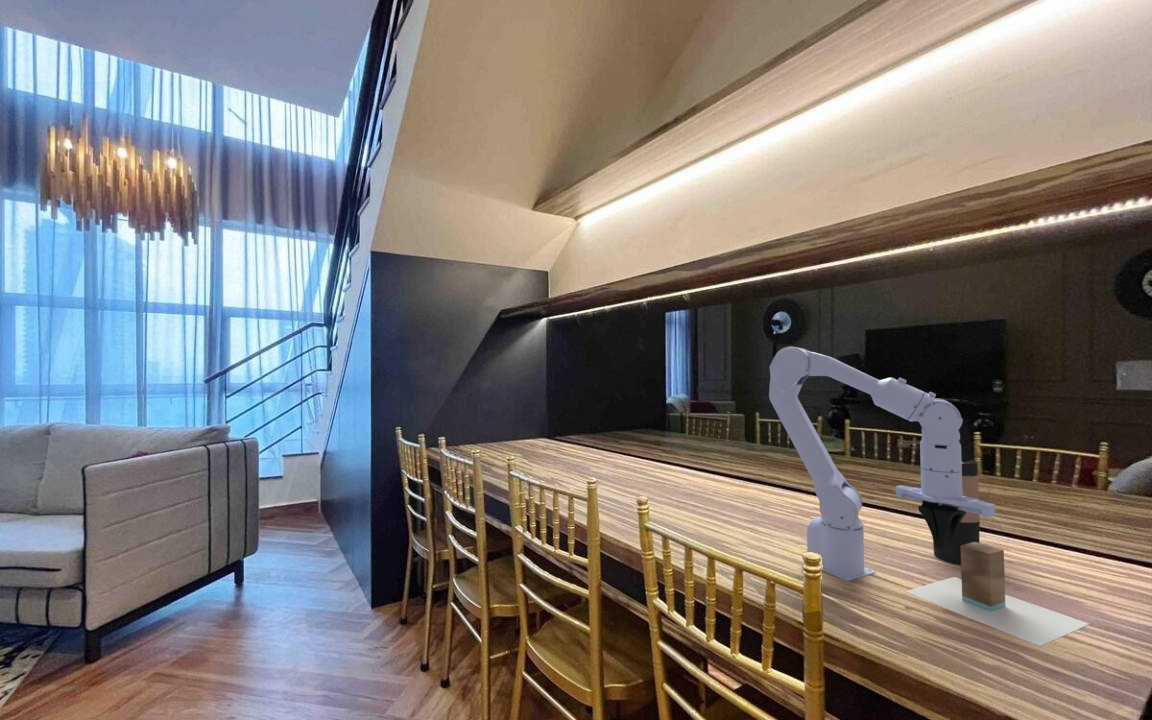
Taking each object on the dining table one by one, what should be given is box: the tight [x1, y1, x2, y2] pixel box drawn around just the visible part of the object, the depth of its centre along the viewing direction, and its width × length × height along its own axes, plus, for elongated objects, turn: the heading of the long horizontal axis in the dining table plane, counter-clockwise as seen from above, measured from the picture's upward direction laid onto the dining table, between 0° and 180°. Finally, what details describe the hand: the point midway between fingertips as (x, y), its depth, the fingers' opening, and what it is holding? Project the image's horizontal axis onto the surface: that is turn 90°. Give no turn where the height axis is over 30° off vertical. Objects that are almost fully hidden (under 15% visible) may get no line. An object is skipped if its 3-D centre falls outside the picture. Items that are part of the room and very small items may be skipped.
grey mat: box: [904, 576, 1090, 647], centre depth 77 cm, size 18×14×1 cm
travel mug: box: [932, 459, 981, 566], centre depth 97 cm, size 8×8×20 cm
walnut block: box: [960, 542, 1006, 612], centre depth 78 cm, size 4×4×9 cm
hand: (943, 548), depth 83 cm, fingers closed
